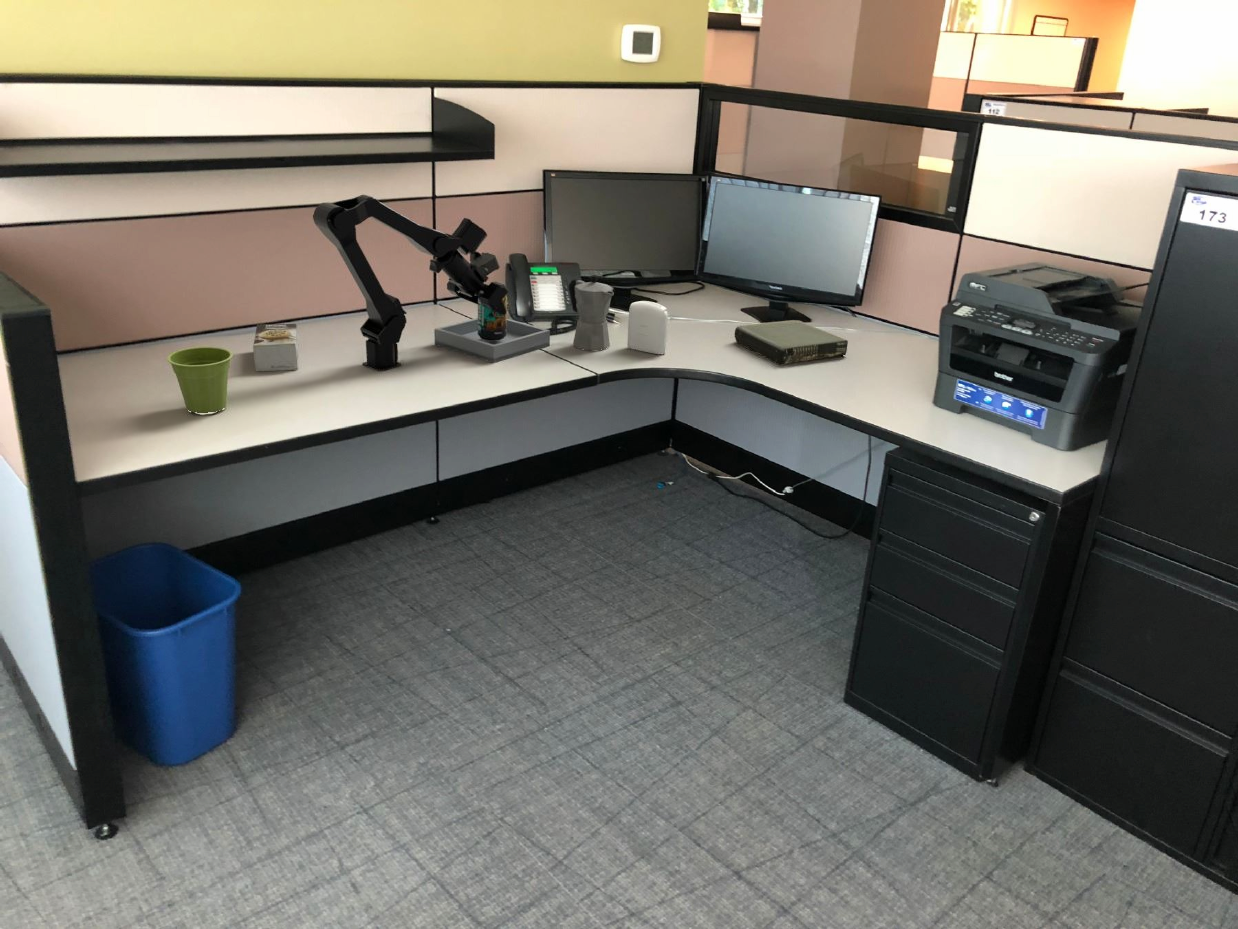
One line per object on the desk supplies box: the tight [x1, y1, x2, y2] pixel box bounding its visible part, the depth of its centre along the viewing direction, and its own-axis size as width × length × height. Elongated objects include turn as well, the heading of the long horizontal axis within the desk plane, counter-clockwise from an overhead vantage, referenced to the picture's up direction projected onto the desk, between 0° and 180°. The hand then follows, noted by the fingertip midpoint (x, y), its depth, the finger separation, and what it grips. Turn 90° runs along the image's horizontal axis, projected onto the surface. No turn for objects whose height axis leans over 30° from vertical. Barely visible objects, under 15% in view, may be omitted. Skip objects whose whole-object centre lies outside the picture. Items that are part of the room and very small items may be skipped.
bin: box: [434, 317, 551, 364], centre depth 250 cm, size 20×20×4 cm
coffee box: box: [252, 323, 300, 372], centre depth 230 cm, size 9×6×16 cm
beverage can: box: [477, 293, 508, 341], centre depth 248 cm, size 7×7×12 cm
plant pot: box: [166, 346, 234, 413], centre depth 199 cm, size 12×12×11 cm
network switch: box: [734, 319, 849, 366], centre depth 260 cm, size 23×24×5 cm
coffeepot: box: [567, 274, 615, 351], centre depth 252 cm, size 15×9×18 cm, turn 45°
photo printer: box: [626, 300, 669, 355], centre depth 251 cm, size 10×4×12 cm, turn 60°
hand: (496, 310), depth 248 cm, fingers closed on beverage can, 7 cm apart
